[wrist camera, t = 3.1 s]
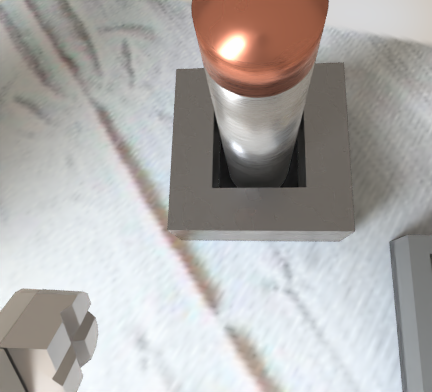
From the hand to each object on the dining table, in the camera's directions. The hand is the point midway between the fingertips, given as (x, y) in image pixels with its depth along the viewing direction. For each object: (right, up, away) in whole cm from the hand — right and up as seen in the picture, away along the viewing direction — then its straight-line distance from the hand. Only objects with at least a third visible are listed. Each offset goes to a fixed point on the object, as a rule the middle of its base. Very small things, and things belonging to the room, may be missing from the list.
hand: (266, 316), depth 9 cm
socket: (+2, +5, +17) cm, 18 cm away
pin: (+2, +5, +17) cm, 18 cm away
